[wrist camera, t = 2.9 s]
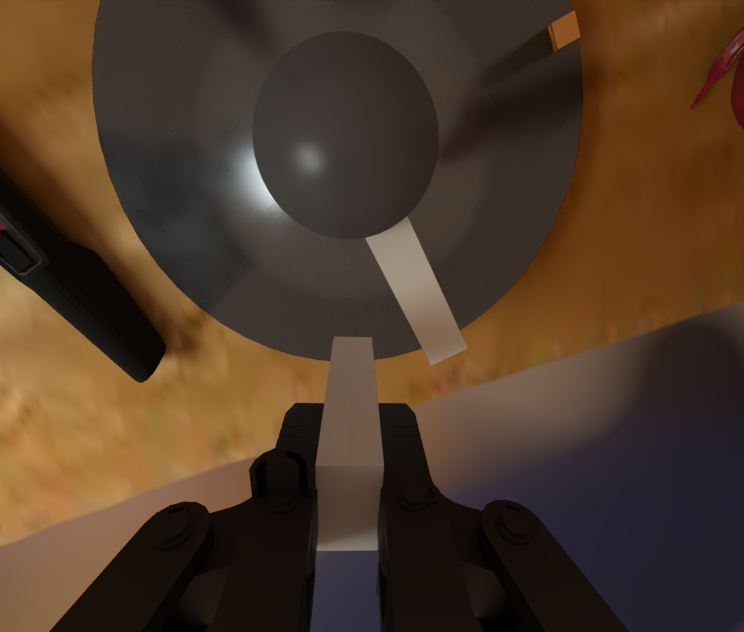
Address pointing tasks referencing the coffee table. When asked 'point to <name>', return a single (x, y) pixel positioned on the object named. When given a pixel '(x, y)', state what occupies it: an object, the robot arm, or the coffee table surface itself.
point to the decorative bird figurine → (740, 94)
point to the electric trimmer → (75, 285)
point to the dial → (357, 161)
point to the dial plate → (266, 218)
